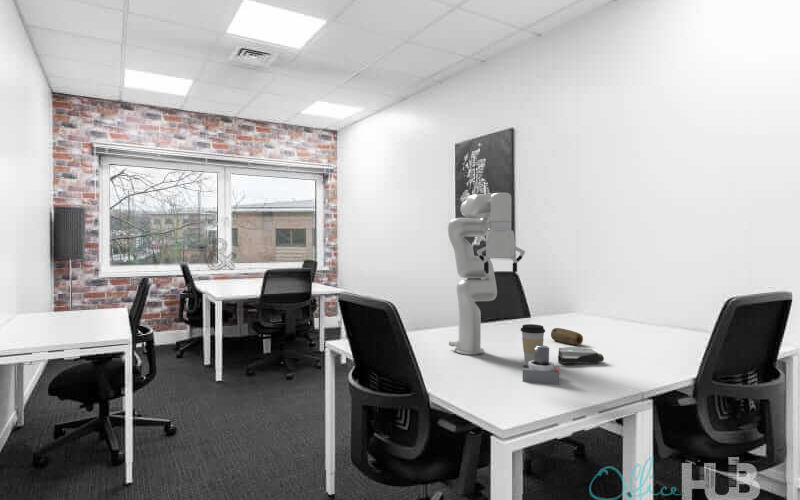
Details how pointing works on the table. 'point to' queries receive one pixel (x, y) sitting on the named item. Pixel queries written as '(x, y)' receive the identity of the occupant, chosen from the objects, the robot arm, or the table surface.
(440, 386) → the table surface
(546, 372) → the camera body
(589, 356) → the grey plastic handled piece
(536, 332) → the coffee cup
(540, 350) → the lens
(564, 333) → the brown wooden cylinder
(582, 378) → the table surface
